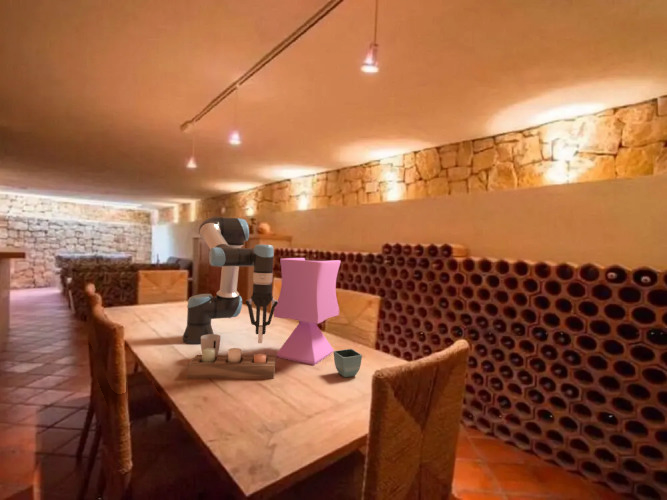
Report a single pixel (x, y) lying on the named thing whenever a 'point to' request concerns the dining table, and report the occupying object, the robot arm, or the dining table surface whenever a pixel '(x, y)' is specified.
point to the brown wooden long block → (232, 368)
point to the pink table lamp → (307, 307)
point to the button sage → (208, 355)
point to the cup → (210, 342)
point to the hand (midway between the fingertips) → (260, 342)
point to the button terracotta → (260, 358)
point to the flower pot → (347, 362)
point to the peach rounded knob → (234, 355)
